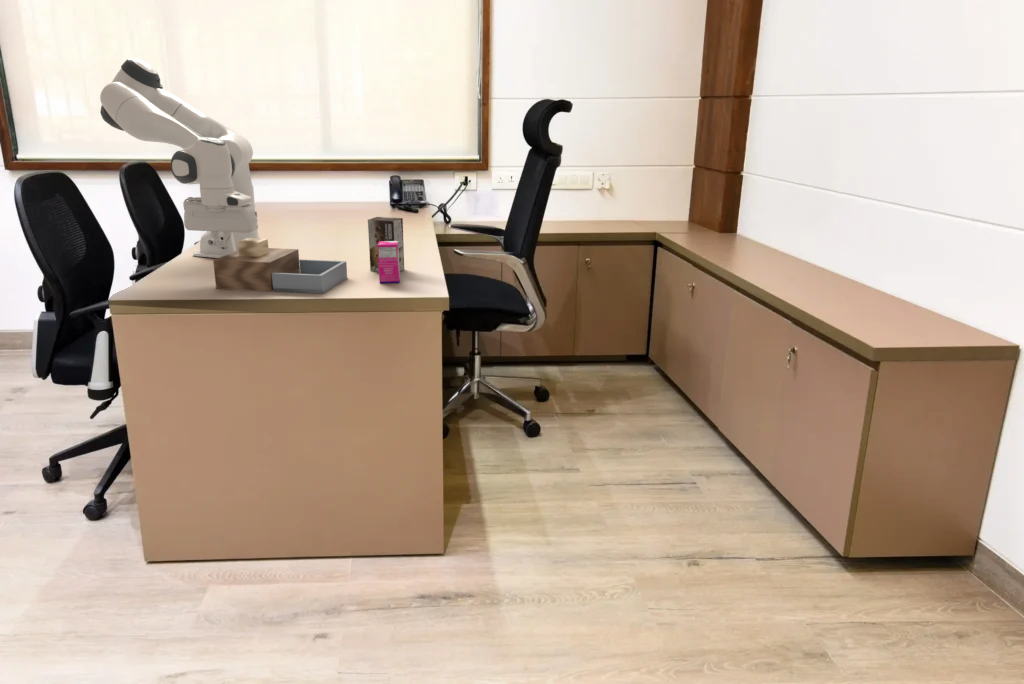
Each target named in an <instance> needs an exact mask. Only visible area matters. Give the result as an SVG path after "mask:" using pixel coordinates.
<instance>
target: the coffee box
mask: <svg viewBox="0 0 1024 684" xmlns="http://www.w3.org/2000/svg"><path fill="white" fill-rule="evenodd" d="M403 221H404V220H403V217H389V216H388V217H387V216H375V217H372V218H369V219H367V230H368V231H367V232H368V248H369V249H368V251H369V267H370V268H369V269H370V272H379V265H378V248H377V245H378V243H379V241H398V250H399V269H400V272H401V271H404V270H405V253H404V252H405V247H404V245H405V244H404V225H403V224H404V222H403Z"/></svg>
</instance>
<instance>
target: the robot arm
mask: <svg viewBox="0 0 1024 684" xmlns="http://www.w3.org/2000/svg"><path fill="white" fill-rule="evenodd" d="M99 99H100V103H101V107H100V110H99V111H100V116H101V119H102V120H103V121H104V122H105V123H107V124H108V125H109V126H110V127H112V128H114V129H116V130H120V131H121V132H122V131H123V132H125V133H127V134H128V135H129V136H131V137H133V138H135V139H137V140H140V141H143V142H151V143H160V144H161V143H162V144H163V143H164V144H168V145H174V146H177V147H179V148H182V149H181V150H177V151H175V152H174V153H173V155H172V157H171V159H170V169H171V170H170V171H171V172H172V175H173V177H174V179H175V180H176V181H177V182H179V183H181V184H183V185H198V184H199V193H200V196H198V197H194V196H193V197H192V196H188V197H187V198H186V199H184V200H183V202H182V204H183V209H184V215H183V217H184V218H183V224H184V226H183V227H184V228H185V229H186V230H187V231H195V232H196V231H197V232H198V231H199V232H205V233H203V234H202V235H201V237H200V239H199V248H198V249H196V250H194V252H193V254H192V255H193V256H194V257H204V258H215V259H217V258H220V257H223V256H225V255H228V254H230V253H233V252H236V251H238V250H239V249H238V241H241V240H244V239H247V238H256V239H260V236H259V231H258V228H259V221H258V220H259V219H258V213H257V211H256V203H255V192H254V191H255V190H254V185H253V181H252V177H251V172H250V171H251V170H250V162H251V161H252V159H253V155H254V154H253V153H254V151H253V147H252V145H251V143H250V142H249V140H248V139H247V138H245V137H244V136H242V135H241V134H239V133H237V132H236V131H234V130H233V129H231V128H229V127H227V126H226V125H224V124H222V123H220V122H218V121H216V120H215V119H213V118H211V117H210V116H208V115H206V114H205V113H204V112H203V111H200V110H199V109H197V108H196V107H194V106H193V105H191V104H189V103H188V102H186V101H185V100H184V99H181V98H180V97H178V96H176V95H175V94H173V93H171V92H170V91H167V90H165V89H164V86H163V85H162V83H161V78H160V75H159V73H158V72H157V71H156V69H154V68H153V66H151V65H150V64H149V63H147V62H146V61H144V60H141V59H138V58H133V57H132V58H128V59H126V60H125V61H124V62H123V63H122V64H121V66H120V69H119V71H118V72H117V74H116V75H115V76H114V78H113V79H112V81H111V82H110V83H108V84H106V85H105V86H104V87H103V88H102V89H101V93H100V96H99Z"/></svg>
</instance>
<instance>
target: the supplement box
mask: <svg viewBox="0 0 1024 684" xmlns="http://www.w3.org/2000/svg"><path fill="white" fill-rule="evenodd" d="M377 248H378V265H379V271H378V278H379V279H378V281H379V282H378V283H379V284H399V283H401V281H400V280H401V273H400V272H401V271H400V269H399V250H398V241H379V243H378V245H377Z"/></svg>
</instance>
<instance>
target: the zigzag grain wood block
mask: <svg viewBox="0 0 1024 684" xmlns="http://www.w3.org/2000/svg"><path fill="white" fill-rule="evenodd" d="M268 249H269V253H267V254H265V255H262V256H260V257H254V256H239V250H238V251H236V252H233V253H230V254H228V255H225V256H223V257H220V258H215V259H213V260H212V261H213V262H212V263H213V271H214V281H215V288H216V290H217V289H218V290H233V289H238V290H239V291H257V292H260V291H262V292H274V291H273V280H272V273H292V274H300V262H299V260H300V254H299V252H300V251H299V248H279V247H277V248H276V247H268Z"/></svg>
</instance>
